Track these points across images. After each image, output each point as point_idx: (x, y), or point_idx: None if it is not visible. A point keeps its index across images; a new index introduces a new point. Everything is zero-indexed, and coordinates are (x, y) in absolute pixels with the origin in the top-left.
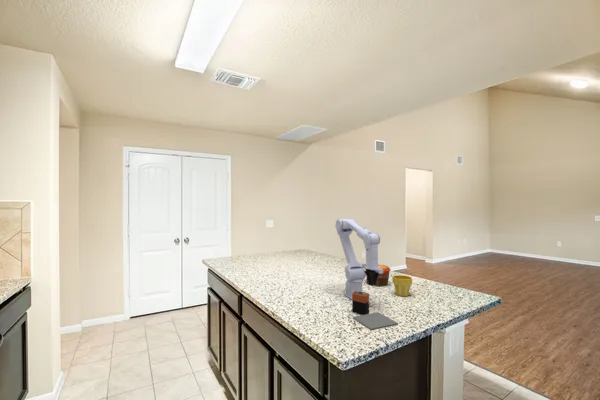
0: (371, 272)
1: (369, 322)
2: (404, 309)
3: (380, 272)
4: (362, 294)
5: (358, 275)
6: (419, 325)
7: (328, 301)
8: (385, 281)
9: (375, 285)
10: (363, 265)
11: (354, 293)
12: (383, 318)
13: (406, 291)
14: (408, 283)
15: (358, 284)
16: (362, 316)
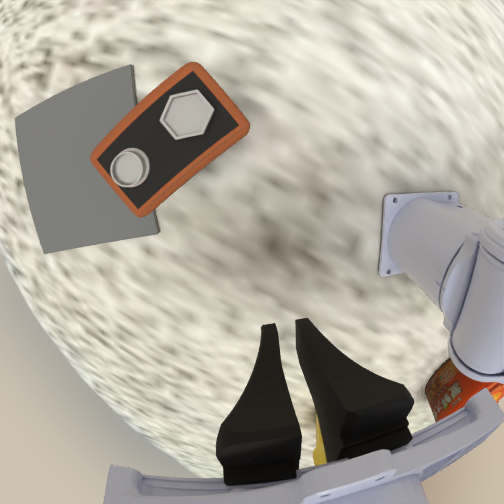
0: (226, 451)
1: (54, 130)
2: (191, 360)
3: (111, 479)
4: (116, 141)
5: (478, 312)
6: (50, 315)
7: (409, 58)
8: (430, 398)
9: (446, 362)
10: (477, 432)
11: (173, 75)
12: (81, 218)
13: (316, 427)
14: (314, 457)
15: (435, 272)
16: (119, 118)
